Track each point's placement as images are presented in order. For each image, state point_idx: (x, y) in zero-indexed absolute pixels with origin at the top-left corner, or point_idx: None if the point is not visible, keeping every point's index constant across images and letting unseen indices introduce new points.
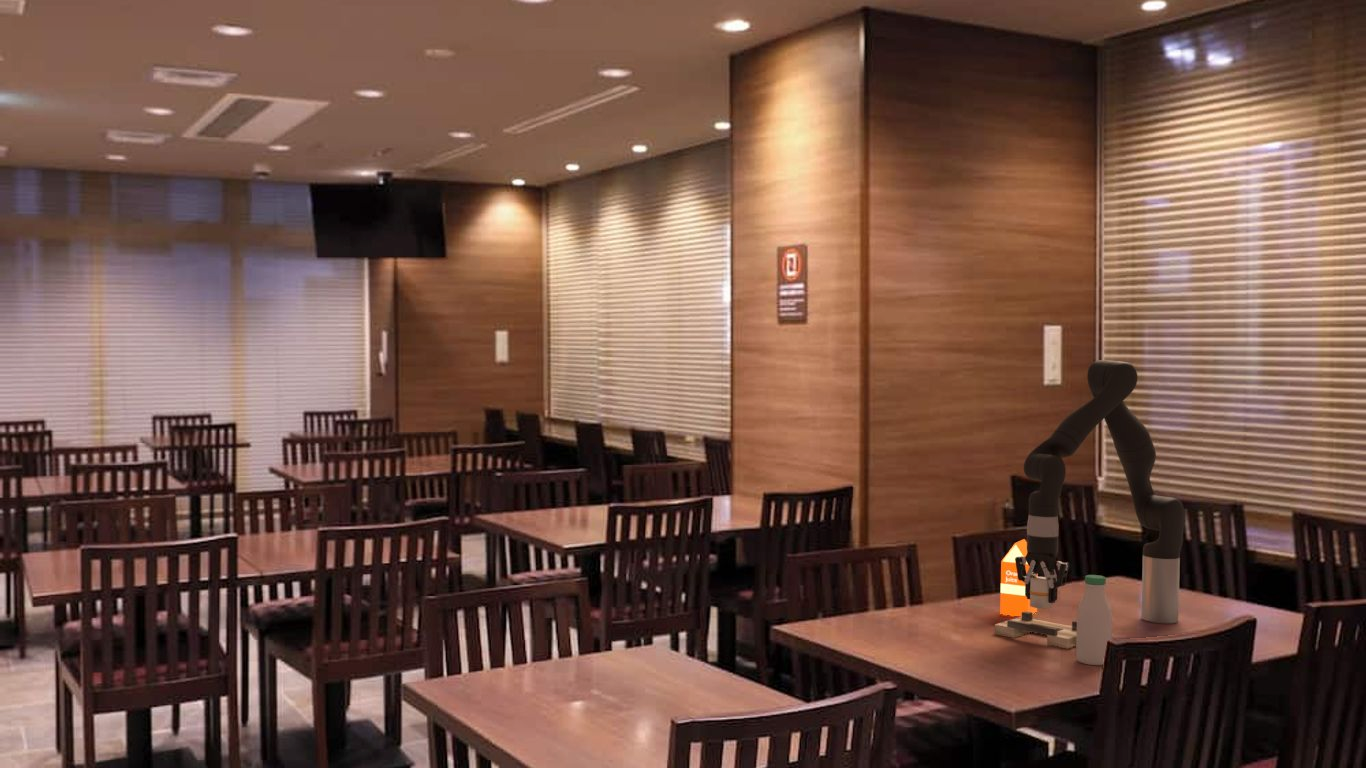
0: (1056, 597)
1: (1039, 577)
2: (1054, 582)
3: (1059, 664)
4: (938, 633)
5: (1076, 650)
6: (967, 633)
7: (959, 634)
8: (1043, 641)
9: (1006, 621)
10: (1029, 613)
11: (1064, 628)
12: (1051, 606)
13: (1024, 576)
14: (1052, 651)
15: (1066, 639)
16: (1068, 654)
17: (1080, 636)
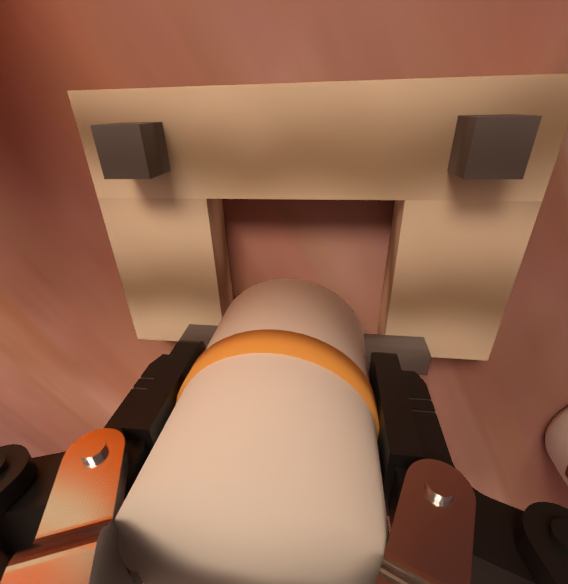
0: (425, 401)
1: (182, 533)
2: (425, 532)
3: (501, 491)
4: (68, 409)
5: (564, 481)
6: (105, 363)
7: (104, 387)
8: (343, 295)
9: (118, 257)
10: (148, 167)
11: (400, 181)
12: (362, 329)
13: (30, 535)
14: (432, 394)
15: (477, 356)
16: (496, 396)
17: None
